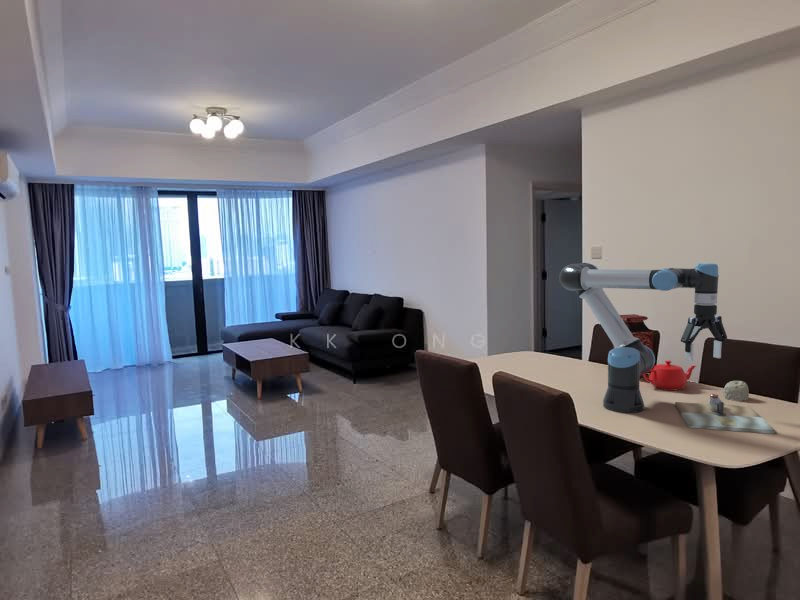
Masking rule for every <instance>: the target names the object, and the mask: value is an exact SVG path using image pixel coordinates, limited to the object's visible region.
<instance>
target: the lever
mask: <svg viewBox="0 0 800 600" xmlns="http://www.w3.org/2000/svg"><path fill="white" fill-rule="evenodd" d="M709 397H710V398H709V404H711V406H712V407H713V408H714V409H715V411H716V412H719V402H723V401H722V400H721V399H720V398H719V394H716V393H710V394H709ZM724 405H725V403H723V413H724Z"/></svg>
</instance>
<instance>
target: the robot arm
mask: <svg viewBox="0 0 800 600" xmlns="http://www.w3.org/2000/svg"><path fill="white" fill-rule="evenodd" d="M558 278H559V279H558V281H559V282H560V285H561V287H563V288H564V289H565V290H567V291H571V292H576V295H577V296H578V297H579V299H583V300H584V301H585V303H587V305H588V306H589V308H590V310H591V311H592V313H593V314H594V317H596V319H597V321H598V322H599V324H600V326H601V327H602V329H603V330H604V332H605V333H606V335H607V337H608V338H609V340H610V342H611V343H612V346H613V345H614V346H615V348H614V349H613V348H612V349H610V350H609V351H608V354H607V355H608V356H607V388H606V391H605V395H604V397H603V400H602V406H603V408H605V409H607V410H609V411H613V412H618V413H619V412H620V413H638V412H642V411H644V410H645V403H644V398H643V397H642V393H641V390H640V378H641V377H640V376H641V375H643V374H645V373H647V374H649V373H650V372H649V371H650V370H653V368H654V366H655V362H656V358H655V357H656V356H655V353H654V351H653V352H652V350H651V349H650V348H648V347H646V346H644V345H643V344H642V342H641V341H640V339H639V338H635V337H633V335H632V334H631V332H630V331H629V329H628V327H627V326H626V324H625V323H624V321H623V320H622V318H621V317H620V315H621V314H619V312H618V310H617V309H616V308H615V306H614V305H613V303H612V302H611V300H610V298H609V297H608V295H607V294H606V292H605V291H604V289H624V290H625V289H628V290H629V289H630V290H659V291H660V292H661V291H662V292H665V291H670V290H675V289H678V288H680V289H681V288H682V289H685V288H686V289H694V297H693V298H694V300H693V301H694V305H693V307H694V308H693V313H694V315H695V317H690V316H689V317H688V318H687V324H686V327H685V329H684V331H683V334H682V336H681V338H680V342H681V343H683V344H685V347H684V351H685V361H689V362H693V361H694V351H695V350H694V349H695V346H694V345H695V344H693V342H694V341H695V340H696V338H697V337H698V335H699V334H700V332H702V331H703V330H706V329H707V330H709V331H710V333H711V334H712V337H714V340H713V354H712V355H713V356H712V357H713V358H715V359H722V349H723V342H726V340H727V339H728V336H727V333H726V329H725V327H724V323H723V321H722V320H723V318H722V316H721V315H717V314H718V306H717V304H718V292H719V291H718V289H719V288H718V287H719V265H718V264H716V263H712V262H711V263H709V262H708V263H702V262H701V263H696V264H695V267H694V268H683V267H682V268H679V267H678V268H677V267H675V268H674V267H668V268H663V269H609V268H607V269H602V268H601V269H599V268H598V267H597V266H596V265H594V264H593V263H588V262H581V263H580V262H579V263H571V264H568V265H565V266H564V267H563V268H562V269H561V271H560V272H559V276H558Z"/></svg>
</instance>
